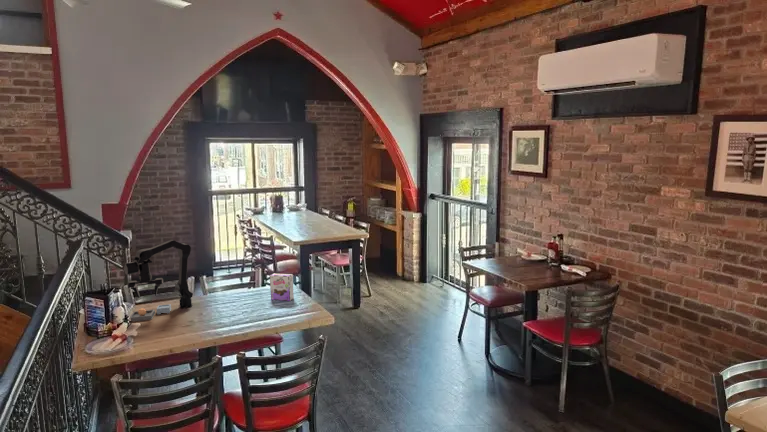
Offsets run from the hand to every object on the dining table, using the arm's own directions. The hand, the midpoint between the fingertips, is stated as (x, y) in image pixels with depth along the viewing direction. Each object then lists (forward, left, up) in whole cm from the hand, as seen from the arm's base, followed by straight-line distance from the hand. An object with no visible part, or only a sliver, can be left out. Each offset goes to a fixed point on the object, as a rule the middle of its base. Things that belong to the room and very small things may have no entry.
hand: (147, 296), depth 314 cm
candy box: (-79, -6, -12) cm, 80 cm away
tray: (+3, +3, -12) cm, 12 cm away
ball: (+3, +3, -8) cm, 9 cm away
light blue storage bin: (-8, -4, -12) cm, 14 cm away
